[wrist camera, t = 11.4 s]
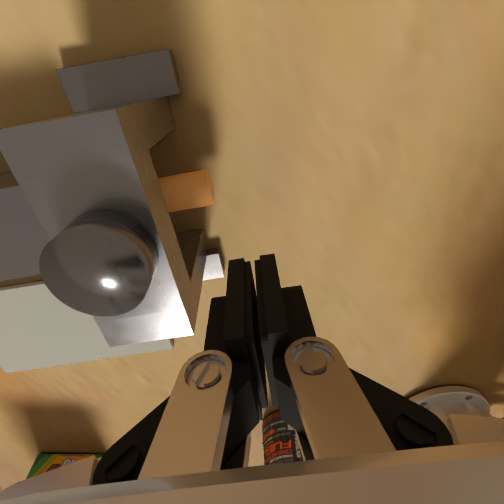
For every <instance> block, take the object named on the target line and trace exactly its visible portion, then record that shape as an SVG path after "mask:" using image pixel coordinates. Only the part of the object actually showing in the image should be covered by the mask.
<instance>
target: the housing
mask: <svg viewBox="0 0 504 504" xmlns="http://www.w3.org/2000/svg"><path fill="white" fill-rule="evenodd" d="M56 72H57V74H58V77H59V79H60V82H61V84H62V87H63V89H64V91H65V94H66V96H67V99H68V101H69V103H70V106H71V108H72V111H73V113H72V114H68V115H63V116H59V117H54V118H49V119H45V120H40V121H36V122H31V123H26V124H22V125H17V126H13V127H8V128H3V129H0V151H1V153H2V155H3V157H4V159H5V160H6V162H7V164H8V166H9V168H10V169H11V171H12V173H13V175H14V177H15V178H16V180H17V182H18V184H19V185H20V187H21V189H22V191H23V193H24V194H25V196H26V198H27V200H28V202H29V203H30V205H31V207H32V209H33V210H34V212H35V214H36V216H37V218H38V219H39V221H40V223H41V225H42V227H43V228H44V230H45V232H46V234H47V236H48V237H49V239H50V241H49V242H48V243H47V245H46V246H45V247H44V249H43V250H42V252H41V255H40V259H39V270H40V274H41V277H42V280H43V281H44V283H45V285H46V287H47V288H48V289H49V291H50V292H51V293H52V294H53V295H54V296H55V297H56V298H57V299H58V300H60V301H61V302H62V303H64V304H65V305H67V306H69V307H70V308H72V309H74V310H77V311H79V312H82V313H85V314H89V315H92V316H93V318H94V320H95V321H96V323H97V325H98V327H99V329H100V330H101V332H102V334H103V336H104V337H105V339H106V341H107V343H108V345H109V346H110V347H115V346H122V345H128V344H135V343H142V342H149V341H156V340H162V339H169V338H176V337H183V336H190V335H194V330H195V324H196V318H197V311H198V305H199V299H200V293H201V287H202V281H203V280H208V279H215V278H221V277H224V266H223V262H222V258H221V254H220V250H219V248H216V249H209V250H208V249H207V245H206V241H205V238H204V234H203V230H202V229H200V230H194V231H188V232H182V233H175V231H174V228H173V225H172V222H171V219H170V216H169V212H168V209H167V206H166V203H165V200H164V197H163V193H162V190H161V187H160V184H159V181H158V178H157V175H156V171H155V168H154V165H153V162H152V159H151V156H150V152H149V149H150V148H151V147H152V146H154V145H155V144H156V143H157V142H158V141H160V140H161V139H162V138H163V137H165V136H166V135H167V134H168V133H169V132H171V131H172V130H173V129H174V128H176V127H175V124H174V120H173V116H172V112H171V108H170V105H169V101H168V97H167V96H170V95H176V94H181V93H182V92H181V88H180V84H179V79H178V75H177V71H176V67H175V63H174V59H173V54H172V50H169V49H166V50H161V51H155V52H150V53H144V54H139V55H133V56H128V57H122V58H117V59H111V60H106V61H101V62H95V63H90V64H84V65H79V66H73V67H68V68H62V69H57V70H56ZM80 111H82V112H80ZM74 112H77V113H74Z"/></svg>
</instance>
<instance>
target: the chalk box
mask: <svg viewBox="0 0 504 504" xmlns="http://www.w3.org/2000/svg"><path fill="white" fill-rule="evenodd" d="M93 455H95V457H96V458H97V459H98V458H101V457H102V456H103V455H104V454H38V455H37V458H36V460H35V462H34V464H33V466H32V468H31V470H30V472H29V474H28V476H27V478H26V479H28V478H31V477H34V476H37V475H40V474H42V473H45V472H48V471H51V470H54V469H57V468H59V467H62V466H65V465H68V464H71V463H73V462H76V461H79V460H82V459H85V458H88V457H90V456H93Z"/></svg>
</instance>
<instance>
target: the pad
mask: <svg viewBox="0 0 504 504" xmlns="http://www.w3.org/2000/svg"><path fill="white" fill-rule="evenodd" d="M173 347H174V343H173V340H172V338H169V339H162V340H156V341H149V342H142V343H135V344H128V345H122V346H115V347H110V346H109V345H108V343H107V341H106V339H105V337H104V336H103V334H102V332H101V330H100V329H99V327H98V325H97V323H96V321H95V320H94V318H93V316H92V315H89V314H85V313H82V312H79V311H77V310H74V309H72V308H70V307H69V306H67V305H65V304H64V303H62V302H61V301H60V300H58V299H57V298H56V297H55V296H54V295H53V294H52V293H51V292H50V291H49V289H48V288H47V287H46V285H45V283H44V281H38V282H31V283H25V284H18V285H12V286H6V287H0V367H1V368H2V369H3V370H4V371H5V372H6V373H10V372H17V371H24V370H30V369H37V368H44V367H51V366H58V365H65V364H72V363H79V362H85V361H92V360H99V359H106V358H113V357H120V356H127V355H134V354H140V353H147V352H154V351H161V350H168V349H173Z"/></svg>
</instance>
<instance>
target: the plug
mask: <svg viewBox="0 0 504 504" xmlns="http://www.w3.org/2000/svg"><path fill="white" fill-rule="evenodd" d="M158 181H159V184H160V187H161V190H162V193H163V197H164V200H165V203H166V206H167V209H168V212H169V213H170V212H176V211H181V210H187V209H193V208H198V207H204V206H210V205H214V193H213V187H212V183H211V179H210V175H209V173H208V170H207V169H205V170H200V171H194V172H189V173H183V174H178V175H172V176H167V177H161V178H158ZM49 241H50V239H49V237H48V236H47V234H46V232H45V230H44V228H43V227H42V225H41V223H40V221H39V219H38V218H37V216H36V214H35V212H34V210H33V209H32V207H31V205H30V203H29V202H28V200H27V198H26V196H25V194H24V193H23V191H22V189H21V187H20V185H19V184H18V182H17V180H16V178H15V177H14V175H13V173H12V172H8V173H3V174H0V281H5V280H11V279H17V278H23V277H29V276H35V275H41V274H40V270H39V259H40V255H41V252H42V250H43V249H44V247H45V246H46V245H47V243H48V242H49Z"/></svg>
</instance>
